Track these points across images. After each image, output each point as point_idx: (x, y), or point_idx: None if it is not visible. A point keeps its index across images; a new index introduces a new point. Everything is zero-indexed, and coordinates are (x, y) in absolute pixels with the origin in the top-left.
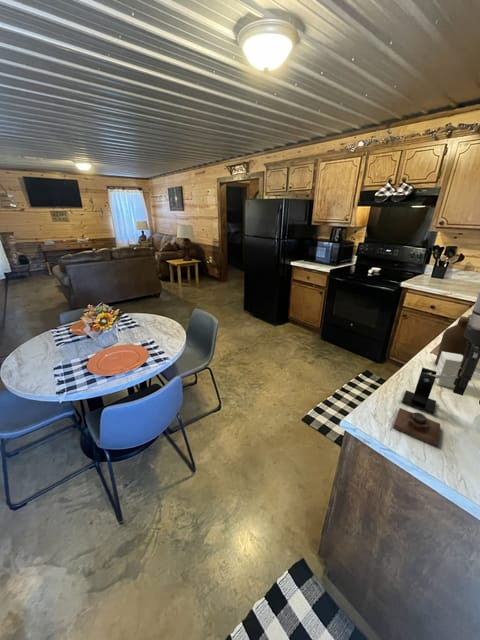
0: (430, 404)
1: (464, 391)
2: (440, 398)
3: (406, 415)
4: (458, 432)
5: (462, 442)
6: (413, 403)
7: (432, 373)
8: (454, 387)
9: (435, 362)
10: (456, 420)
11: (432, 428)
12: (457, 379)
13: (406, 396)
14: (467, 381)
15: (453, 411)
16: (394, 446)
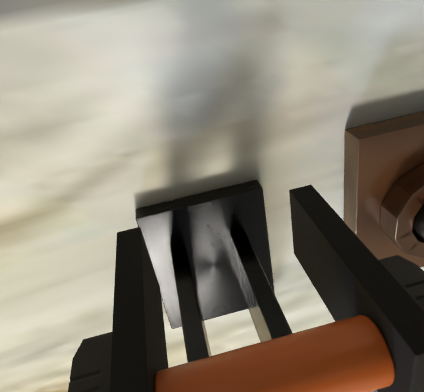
0: (202, 223)
1: (334, 213)
2: (50, 209)
3: (392, 249)
4: (317, 48)
5: (391, 11)
6: (262, 268)
7: None
8: (315, 283)
9: None
10: (209, 85)
11: (421, 150)
12: (162, 331)
13: (228, 306)
14: (417, 317)
15: (126, 121)
16: None
